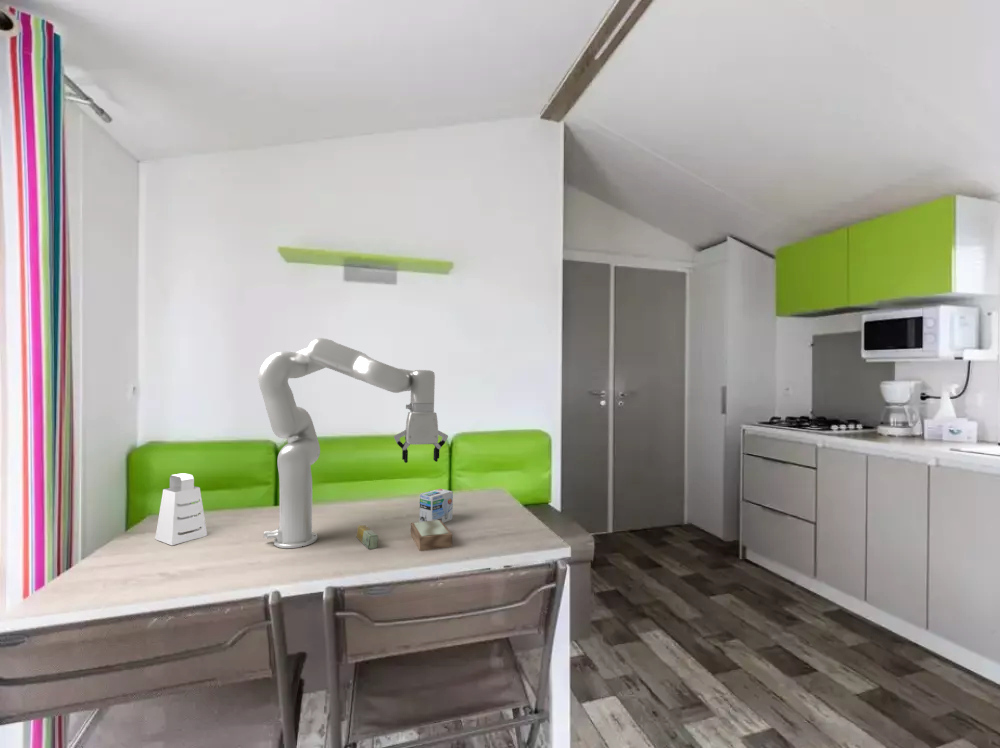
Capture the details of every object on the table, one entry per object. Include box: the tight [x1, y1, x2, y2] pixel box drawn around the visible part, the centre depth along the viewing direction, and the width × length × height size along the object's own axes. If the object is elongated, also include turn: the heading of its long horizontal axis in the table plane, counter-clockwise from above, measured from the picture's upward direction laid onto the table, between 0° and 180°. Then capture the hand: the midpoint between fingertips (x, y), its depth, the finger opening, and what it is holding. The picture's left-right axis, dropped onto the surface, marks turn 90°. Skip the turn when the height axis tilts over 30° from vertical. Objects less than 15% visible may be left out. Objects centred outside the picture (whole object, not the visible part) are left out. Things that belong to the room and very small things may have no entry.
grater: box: [154, 472, 208, 546], centre depth 154 cm, size 10×10×20 cm
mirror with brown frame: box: [410, 520, 453, 552], centre depth 152 cm, size 10×15×4 cm, turn 21°
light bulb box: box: [419, 488, 454, 523], centre depth 171 cm, size 11×7×11 cm, turn 143°
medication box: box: [356, 524, 379, 550], centre depth 150 cm, size 12×3×4 cm, turn 35°
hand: (420, 461), depth 154 cm, fingers open, 9 cm apart
